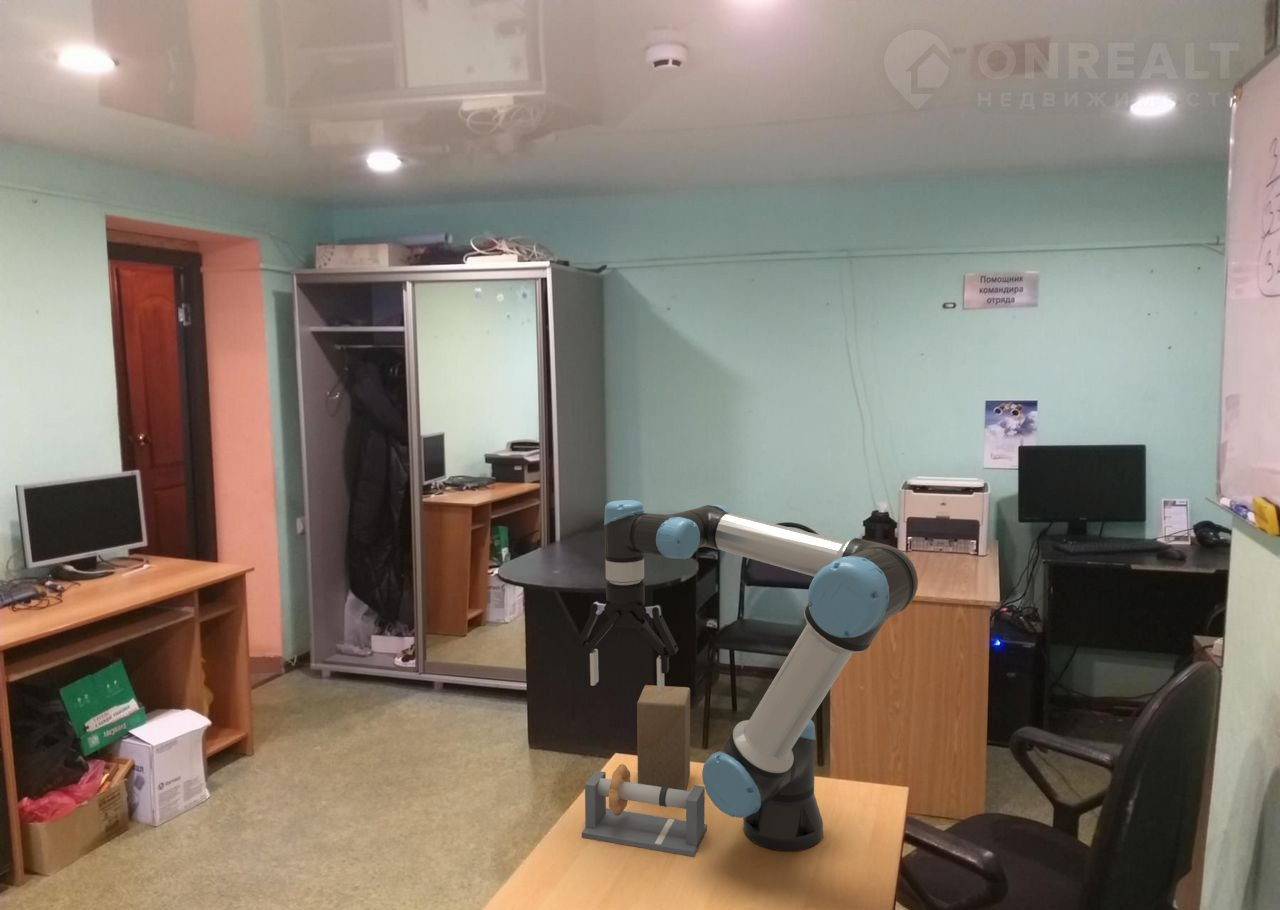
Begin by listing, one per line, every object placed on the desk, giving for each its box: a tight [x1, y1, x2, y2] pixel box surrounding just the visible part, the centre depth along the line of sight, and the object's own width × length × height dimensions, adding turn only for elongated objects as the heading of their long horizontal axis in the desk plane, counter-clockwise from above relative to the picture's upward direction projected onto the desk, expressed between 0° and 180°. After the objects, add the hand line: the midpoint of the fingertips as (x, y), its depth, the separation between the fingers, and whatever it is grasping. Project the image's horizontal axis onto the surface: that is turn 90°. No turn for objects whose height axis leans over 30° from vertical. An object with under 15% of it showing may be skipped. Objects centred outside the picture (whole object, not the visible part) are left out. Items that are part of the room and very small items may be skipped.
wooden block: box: [636, 684, 691, 791], centre depth 190 cm, size 10×10×20 cm
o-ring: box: [608, 763, 631, 816], centre depth 172 cm, size 2×9×9 cm, turn 162°
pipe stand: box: [581, 770, 708, 858], centre depth 171 cm, size 22×10×10 cm, turn 72°
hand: (627, 686), depth 176 cm, fingers open, 13 cm apart
